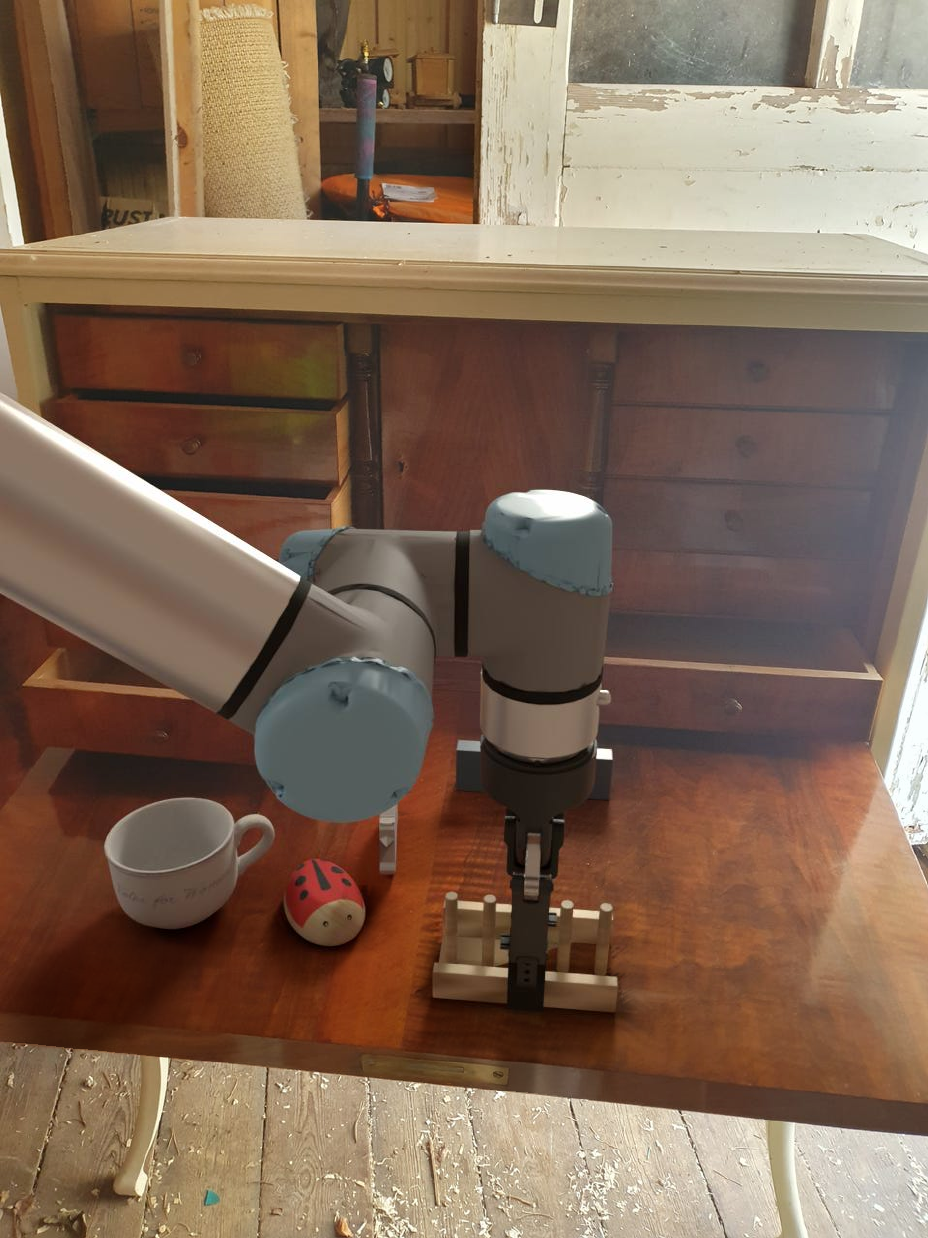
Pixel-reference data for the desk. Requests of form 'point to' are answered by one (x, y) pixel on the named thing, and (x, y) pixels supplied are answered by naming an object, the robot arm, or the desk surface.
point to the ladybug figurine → (323, 903)
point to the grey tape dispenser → (388, 840)
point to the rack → (477, 954)
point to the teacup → (180, 860)
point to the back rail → (471, 769)
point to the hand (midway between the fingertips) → (525, 1002)
